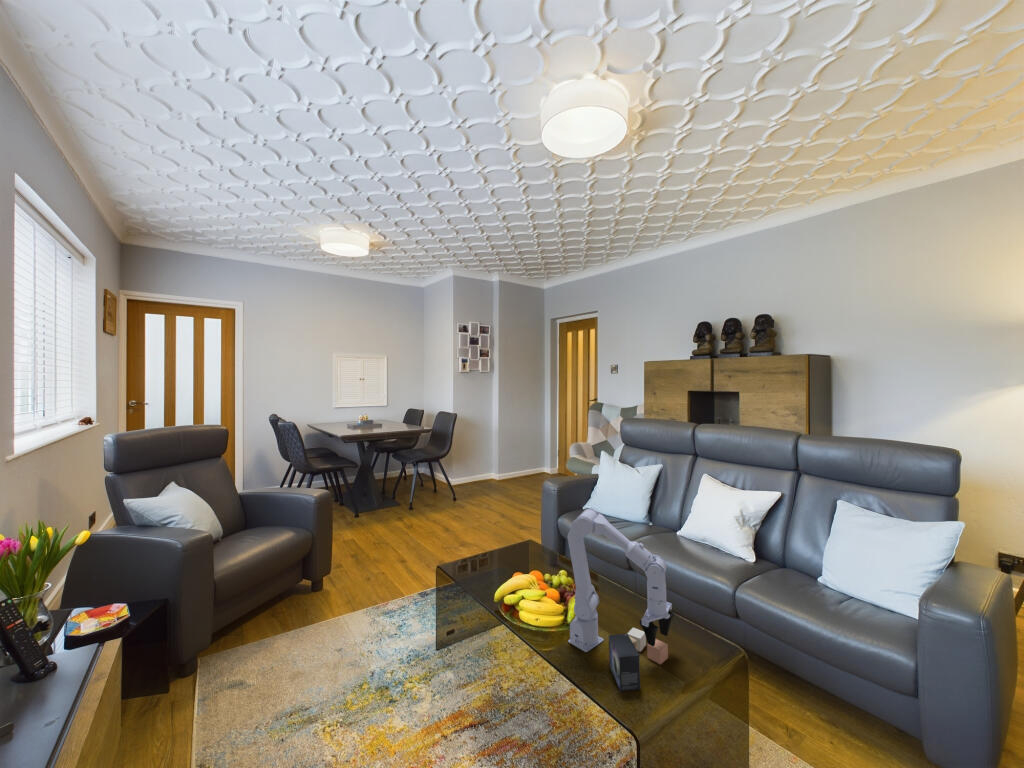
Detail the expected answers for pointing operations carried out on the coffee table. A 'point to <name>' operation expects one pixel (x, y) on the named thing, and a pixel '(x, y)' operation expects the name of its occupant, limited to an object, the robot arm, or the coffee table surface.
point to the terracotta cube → (658, 652)
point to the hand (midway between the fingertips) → (657, 639)
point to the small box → (624, 662)
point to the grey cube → (638, 638)
